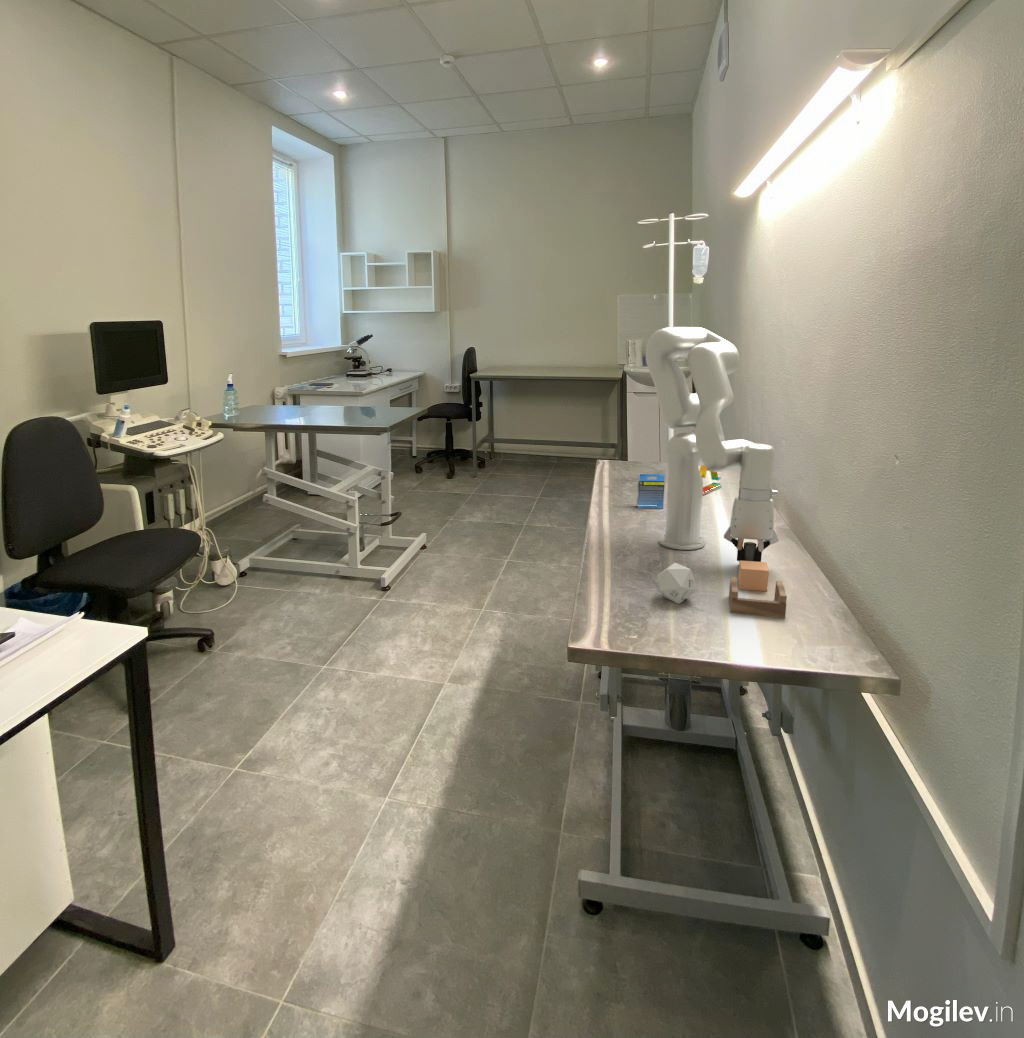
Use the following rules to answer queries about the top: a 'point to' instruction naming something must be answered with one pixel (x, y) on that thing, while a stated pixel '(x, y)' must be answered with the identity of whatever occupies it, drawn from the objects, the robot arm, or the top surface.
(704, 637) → the top surface
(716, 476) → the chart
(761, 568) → the block
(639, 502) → the label tape box
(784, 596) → the shelf lane
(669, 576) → the die
